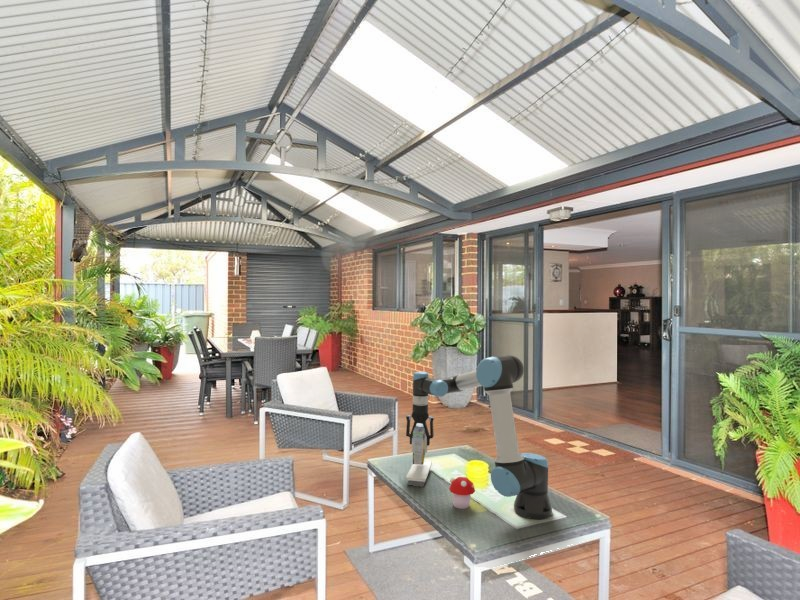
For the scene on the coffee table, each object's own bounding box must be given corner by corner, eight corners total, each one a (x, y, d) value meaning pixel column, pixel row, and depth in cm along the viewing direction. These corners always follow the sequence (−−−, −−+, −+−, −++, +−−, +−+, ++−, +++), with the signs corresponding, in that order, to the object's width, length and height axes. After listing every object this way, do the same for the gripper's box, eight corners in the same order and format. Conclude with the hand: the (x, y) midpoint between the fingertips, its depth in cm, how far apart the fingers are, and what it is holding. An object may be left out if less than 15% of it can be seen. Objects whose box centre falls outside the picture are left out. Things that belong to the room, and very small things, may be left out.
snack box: (415, 450, 246) (416, 420, 246) (426, 450, 246) (427, 421, 245) (411, 464, 225) (412, 432, 225) (423, 465, 224) (424, 432, 224)
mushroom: (450, 499, 211) (450, 471, 211) (475, 501, 209) (475, 473, 208) (447, 509, 200) (448, 480, 200) (474, 512, 198) (475, 482, 198)
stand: (424, 487, 223) (425, 479, 223) (405, 486, 224) (405, 477, 224) (431, 469, 246) (431, 461, 246) (414, 468, 248) (414, 460, 248)
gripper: (399, 404, 233) (399, 452, 233) (438, 406, 230) (437, 455, 230) (402, 401, 241) (402, 447, 241) (440, 403, 237) (439, 450, 237)
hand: (419, 451), depth 235 cm, fingers closed on snack box, 6 cm apart
